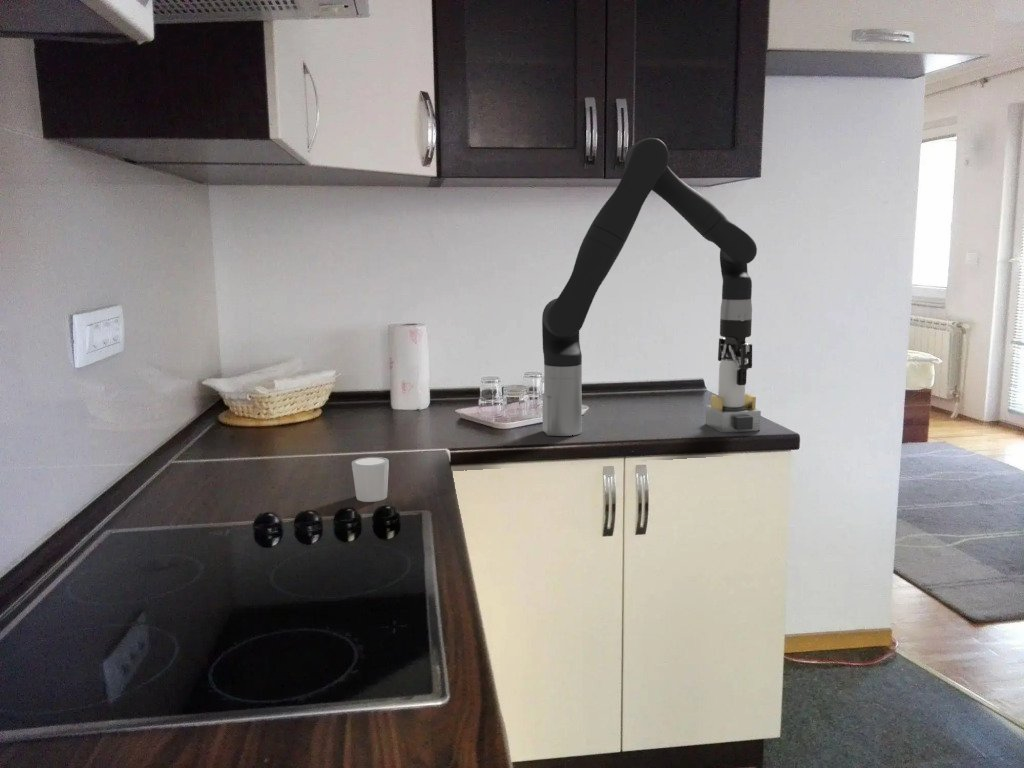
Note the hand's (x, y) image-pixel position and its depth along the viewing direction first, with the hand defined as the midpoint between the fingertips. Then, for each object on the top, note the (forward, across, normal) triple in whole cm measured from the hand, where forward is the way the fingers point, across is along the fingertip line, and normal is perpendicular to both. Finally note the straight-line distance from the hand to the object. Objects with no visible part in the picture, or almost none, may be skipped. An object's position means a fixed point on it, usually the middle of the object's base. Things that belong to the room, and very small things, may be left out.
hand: (733, 382), depth 201 cm
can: (+6, 0, 0) cm, 6 cm away
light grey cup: (+12, +39, -90) cm, 99 cm away
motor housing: (+12, 0, 0) cm, 12 cm away
